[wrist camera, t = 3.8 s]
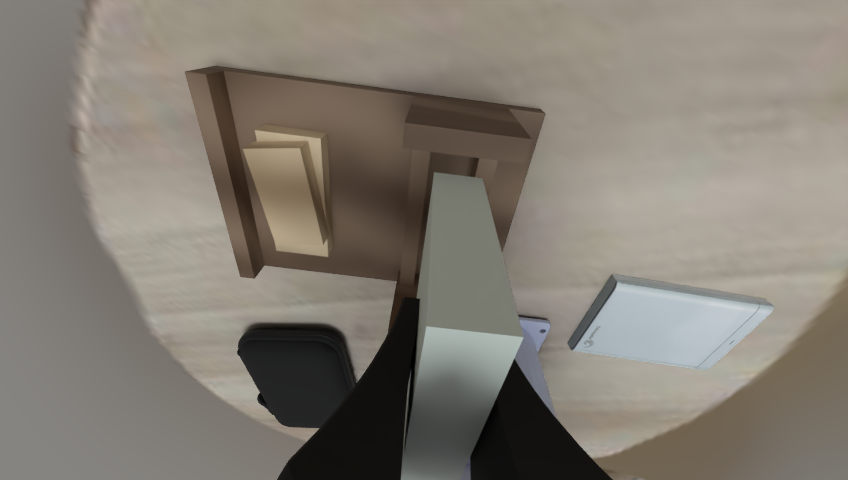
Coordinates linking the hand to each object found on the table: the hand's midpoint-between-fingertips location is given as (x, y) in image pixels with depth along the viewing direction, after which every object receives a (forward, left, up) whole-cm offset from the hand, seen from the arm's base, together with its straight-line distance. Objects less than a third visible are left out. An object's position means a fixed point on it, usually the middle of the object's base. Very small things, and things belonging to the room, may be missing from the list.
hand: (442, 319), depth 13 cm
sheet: (0, 0, -4) cm, 4 cm away
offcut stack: (0, +9, -9) cm, 13 cm away
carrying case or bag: (-21, +11, -11) cm, 26 cm away
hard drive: (-9, -20, -11) cm, 24 cm away
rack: (0, +4, -10) cm, 11 cm away
